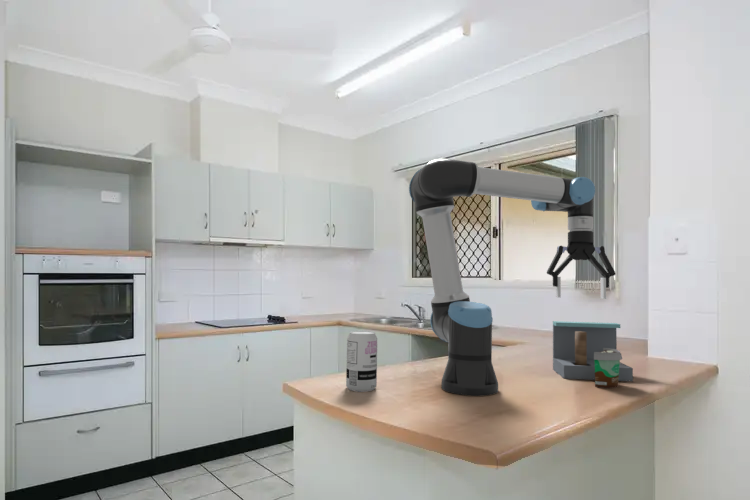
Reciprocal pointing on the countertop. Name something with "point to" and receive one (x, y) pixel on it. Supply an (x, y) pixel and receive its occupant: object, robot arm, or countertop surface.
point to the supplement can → (361, 361)
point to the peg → (580, 348)
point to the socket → (596, 341)
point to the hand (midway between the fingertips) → (580, 298)
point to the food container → (607, 368)
